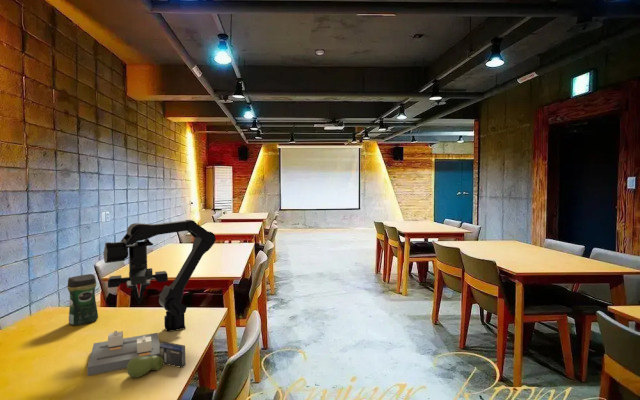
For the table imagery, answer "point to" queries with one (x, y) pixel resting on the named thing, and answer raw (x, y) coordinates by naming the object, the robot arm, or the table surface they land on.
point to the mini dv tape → (173, 354)
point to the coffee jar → (82, 299)
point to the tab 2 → (144, 344)
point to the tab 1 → (115, 339)
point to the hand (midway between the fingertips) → (139, 303)
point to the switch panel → (118, 354)
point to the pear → (143, 365)
